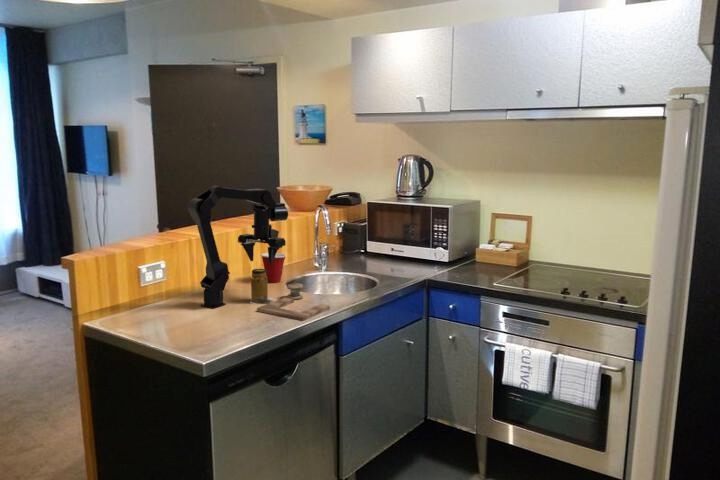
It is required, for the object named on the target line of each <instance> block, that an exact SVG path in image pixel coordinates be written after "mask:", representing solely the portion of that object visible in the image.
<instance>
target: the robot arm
mask: <svg viewBox="0 0 720 480" xmlns="http://www.w3.org/2000/svg"><path fill="white" fill-rule="evenodd" d="M222 198H223V199H234V200H235V199H236V200H242V201H247V202H249V203H250V202H251V203H254V204H251V206H249V208H248V211H251V212H253V224H251V228H252V229H253V234H250V233H243V234H239V235H238V237H237V243H238V244H240V246H242V248H243V249H244V251H245V252H246V255H247V257H248V258H249V260H250V262H254V251H255V250H254V248H255V245H256V243H260V244H267V245H268V246H267V253H268V255H269V262H270V264H272V263H273V261H274V258H275V255H276V253H278V250H280V249H282V248H283V247H285V246H286V243H287V242H286V239H285V238H284V237H279V233H280V231H279V230H277V229H274V228H272V227H273V225H272V224H270V222H280V221H287V219H288V218H289V212H288V209H287V207H286V204H285V203H284V202H279V203H276V201H275V200H274V198H273V196H272V193H271V190H268V189H263V188H249V189H238V188H230V187H223V186H220V185H212V186H211V187H209V188H208V189H207V190H205V191H204V192H202V193H201V194H199V195H197V196H196V197H194V198H191V199H190V200H189V201H188V204H187V211H188V213H189V215H190V217H191V219H192V220H193V222H194V223H195V225H196V226H197V230H198V233H199V237H200V242H201V245H202V248H203V252H204V253H203V254H204V256H205V260H206V265H205V276H204V277H203V278H202V279H201V281H200V284H199V285H200V286H201V288H203V303H202V304H200V307H205V308H210V309H216V308H219V307H222V306H225V305H226V302H224V293H223V292H224V290H225V288H226V285H227V282H228V281H229V280H230V275H231V272H230V271H229V267H228V266H229V265H228V263H226V262H223V261H222V260H221V258H220V255H219V249H218V247H217V242H216V239H215V235H214V232H213V228H212V223H211V221H212V216H213V215H212V213H213V212H212V209H213V208H214V207H215V206H216V205H217V203H218V202H219V200H221V199H222Z"/></svg>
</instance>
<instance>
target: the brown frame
mask: <svg viewBox="0 0 720 480" xmlns="http://www.w3.org/2000/svg"><path fill="white" fill-rule="evenodd" d="M294 301H295V300H294V299H290V298H287V297H283V298H280V299H277V300H275V301H273V302H272V303H265V304H264V305H261V306H258V307H257V308H256V311H257V312H260V313H264V314H268V315H275V316H277V317H284V318H288V319H294V320H298V321H306V320H308V319H311V318H313V317H315V316H317V315H319V314H321V313H324V312H326V311H329V310H330V305H328V304H321V303H319V304H318V305H315V306H312V307H310V308H308V309H306V310H302V311H301V312H300V311H296V310H291V309H285V308H283V307H285V306H288V305H291V304H293V303H294Z"/></svg>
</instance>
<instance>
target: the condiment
mask: <svg viewBox="0 0 720 480" xmlns="http://www.w3.org/2000/svg"><path fill="white" fill-rule="evenodd" d="M250 285H251V286H250V289H251V290H250V292H251V293H250V296H251V298H250V302H249V304H253V305H255V304H260V305H261V304H269V303H272V302H274V297H268V295H269V294H268V287H269V286H268V282H267V276H266V270H265V269H264V268H253V269H252V270H251V277H250Z"/></svg>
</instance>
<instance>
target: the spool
mask: <svg viewBox="0 0 720 480" xmlns="http://www.w3.org/2000/svg"><path fill="white" fill-rule="evenodd" d="M286 289H288V290H290V291H289V292H290V293H289V294H287V295H286V296H287V297H286V298H290V299H294V301H300V300H303V299H304V295H303V294H302V293H301V290H302V289H304V284H302V283H297V282H295V283H288V284H287V285H286Z"/></svg>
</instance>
